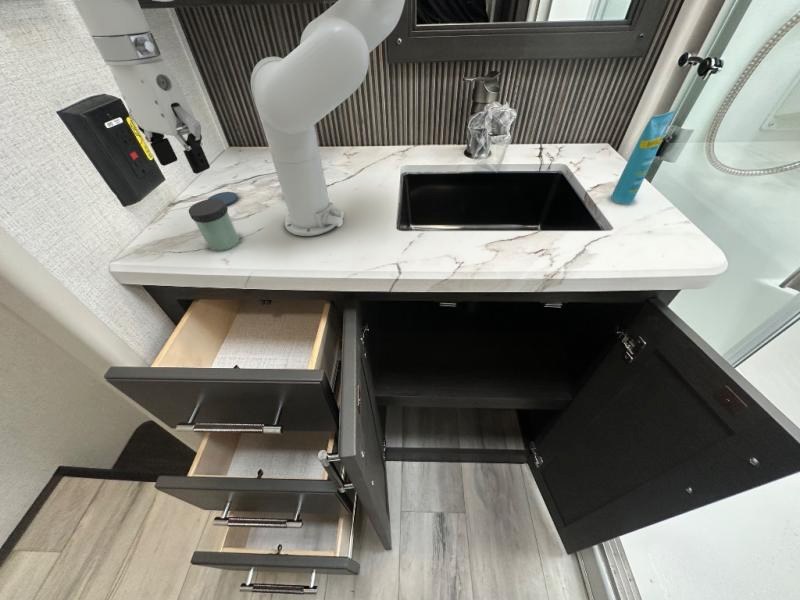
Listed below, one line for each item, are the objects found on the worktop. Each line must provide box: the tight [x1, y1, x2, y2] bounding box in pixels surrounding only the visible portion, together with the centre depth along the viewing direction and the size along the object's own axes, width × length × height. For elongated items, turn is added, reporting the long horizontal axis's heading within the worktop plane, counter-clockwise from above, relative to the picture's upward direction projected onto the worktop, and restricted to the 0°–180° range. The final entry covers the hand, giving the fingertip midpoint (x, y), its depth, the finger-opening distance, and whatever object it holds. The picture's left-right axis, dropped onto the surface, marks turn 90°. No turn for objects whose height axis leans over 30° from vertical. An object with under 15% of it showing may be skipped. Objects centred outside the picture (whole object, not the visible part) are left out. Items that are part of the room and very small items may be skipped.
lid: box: [188, 198, 229, 223], centre depth 67 cm, size 7×7×2 cm
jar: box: [194, 211, 240, 252], centre depth 70 cm, size 6×6×8 cm
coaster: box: [207, 191, 239, 207], centre depth 87 cm, size 8×8×1 cm
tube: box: [610, 109, 676, 205], centre depth 74 cm, size 7×5×19 cm, turn 123°
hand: (185, 166), depth 61 cm, fingers open, 8 cm apart
